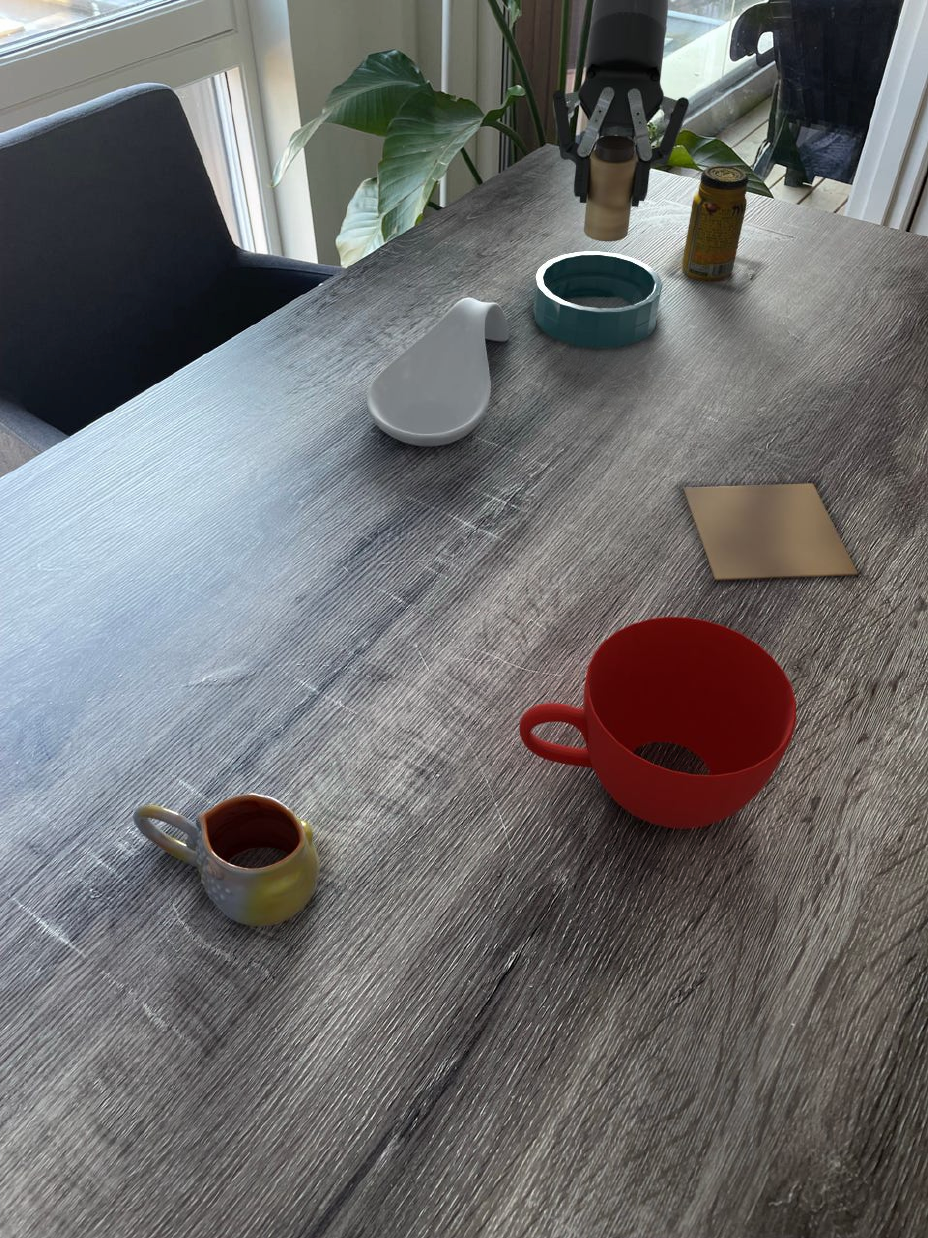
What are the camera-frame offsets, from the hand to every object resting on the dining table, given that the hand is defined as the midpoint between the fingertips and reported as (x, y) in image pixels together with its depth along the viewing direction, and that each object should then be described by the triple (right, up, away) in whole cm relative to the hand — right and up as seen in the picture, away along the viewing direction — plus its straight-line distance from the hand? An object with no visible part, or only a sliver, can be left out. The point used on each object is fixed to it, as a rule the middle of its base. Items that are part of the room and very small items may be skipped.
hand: (609, 200), depth 100 cm
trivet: (+11, -35, -14) cm, 39 cm away
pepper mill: (0, -1, +4) cm, 4 cm away
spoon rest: (-16, -20, +1) cm, 25 cm away
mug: (-29, -58, -37) cm, 75 cm away
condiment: (+15, -1, +20) cm, 25 cm away
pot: (0, -9, +12) cm, 15 cm away
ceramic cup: (-3, -54, -32) cm, 62 cm away
